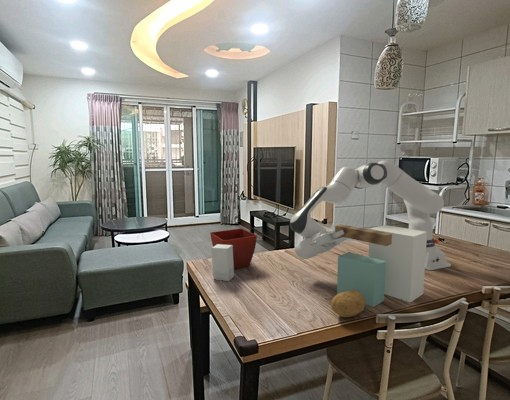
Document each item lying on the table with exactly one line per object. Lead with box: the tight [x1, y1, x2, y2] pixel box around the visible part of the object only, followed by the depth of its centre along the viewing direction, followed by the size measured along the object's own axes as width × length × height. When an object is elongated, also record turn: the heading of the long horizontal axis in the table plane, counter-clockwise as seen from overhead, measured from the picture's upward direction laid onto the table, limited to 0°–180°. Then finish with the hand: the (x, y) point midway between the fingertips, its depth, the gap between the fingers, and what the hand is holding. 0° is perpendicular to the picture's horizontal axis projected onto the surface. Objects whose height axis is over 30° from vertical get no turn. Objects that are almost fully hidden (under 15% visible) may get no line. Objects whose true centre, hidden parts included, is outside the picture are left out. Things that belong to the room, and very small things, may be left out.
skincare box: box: [211, 244, 235, 282], centre depth 147 cm, size 8×7×16 cm
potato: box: [330, 290, 366, 318], centre depth 112 cm, size 10×14×8 cm
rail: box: [334, 224, 392, 246], centre depth 124 cm, size 22×4×4 cm, turn 41°
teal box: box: [336, 252, 386, 308], centre depth 126 cm, size 8×16×16 cm, turn 41°
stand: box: [368, 224, 427, 303], centre depth 131 cm, size 12×18×26 cm, turn 41°
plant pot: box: [210, 228, 258, 270], centre depth 166 cm, size 19×19×17 cm
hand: (348, 230), depth 128 cm, fingers closed on rail, 4 cm apart
